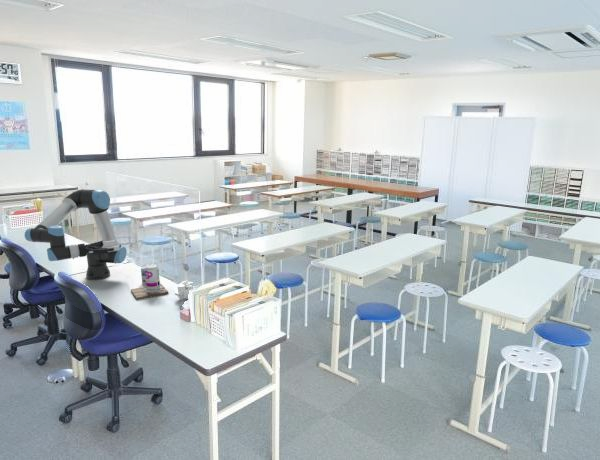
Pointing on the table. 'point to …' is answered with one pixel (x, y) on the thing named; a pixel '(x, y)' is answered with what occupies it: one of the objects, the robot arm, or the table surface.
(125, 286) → the table surface
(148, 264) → the light bulb box
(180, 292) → the mechanical part
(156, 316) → the table surface
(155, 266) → the supplement can
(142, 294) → the gear board
